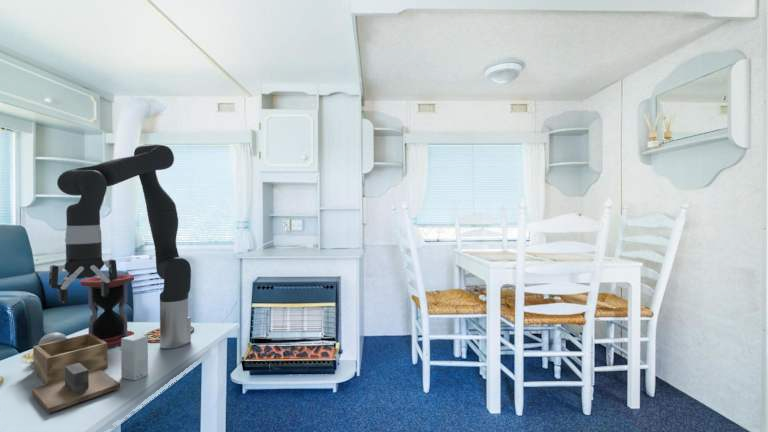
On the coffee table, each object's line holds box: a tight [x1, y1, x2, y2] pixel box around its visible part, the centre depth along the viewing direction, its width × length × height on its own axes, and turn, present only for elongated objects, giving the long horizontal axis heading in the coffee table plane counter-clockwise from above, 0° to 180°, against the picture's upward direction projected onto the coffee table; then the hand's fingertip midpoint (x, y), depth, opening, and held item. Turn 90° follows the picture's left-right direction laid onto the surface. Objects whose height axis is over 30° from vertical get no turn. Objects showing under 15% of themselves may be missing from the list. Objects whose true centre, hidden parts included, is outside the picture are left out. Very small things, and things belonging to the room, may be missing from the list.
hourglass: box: [80, 273, 135, 349], centre depth 131 cm, size 16×16×25 cm
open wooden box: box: [32, 333, 109, 385], centre depth 108 cm, size 14×16×8 cm
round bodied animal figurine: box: [37, 331, 68, 345], centre depth 117 cm, size 7×12×8 cm, turn 125°
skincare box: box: [120, 333, 149, 381], centre depth 103 cm, size 6×4×12 cm
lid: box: [31, 363, 121, 414], centre depth 94 cm, size 15×17×7 cm
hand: (85, 299), depth 95 cm, fingers open, 8 cm apart
